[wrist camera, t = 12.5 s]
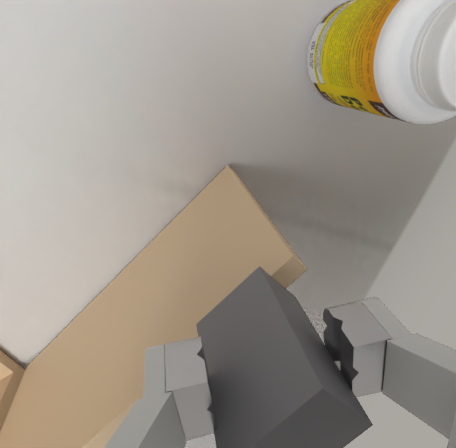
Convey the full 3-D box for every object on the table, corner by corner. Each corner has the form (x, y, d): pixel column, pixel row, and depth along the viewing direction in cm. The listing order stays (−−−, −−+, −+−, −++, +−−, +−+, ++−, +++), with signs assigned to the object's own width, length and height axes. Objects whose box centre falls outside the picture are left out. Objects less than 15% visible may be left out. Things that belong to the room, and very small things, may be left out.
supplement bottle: (297, 103, 22) (399, 133, 13) (311, -4, 20) (445, -57, 11) (379, 107, 23) (527, 137, 14) (401, 6, 21) (594, -35, 12)
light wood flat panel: (44, 374, 26) (-96, 785, 11) (19, 362, 26) (-168, 787, 11) (242, 179, 23) (406, 398, 8) (220, 158, 22) (360, 358, 7)
